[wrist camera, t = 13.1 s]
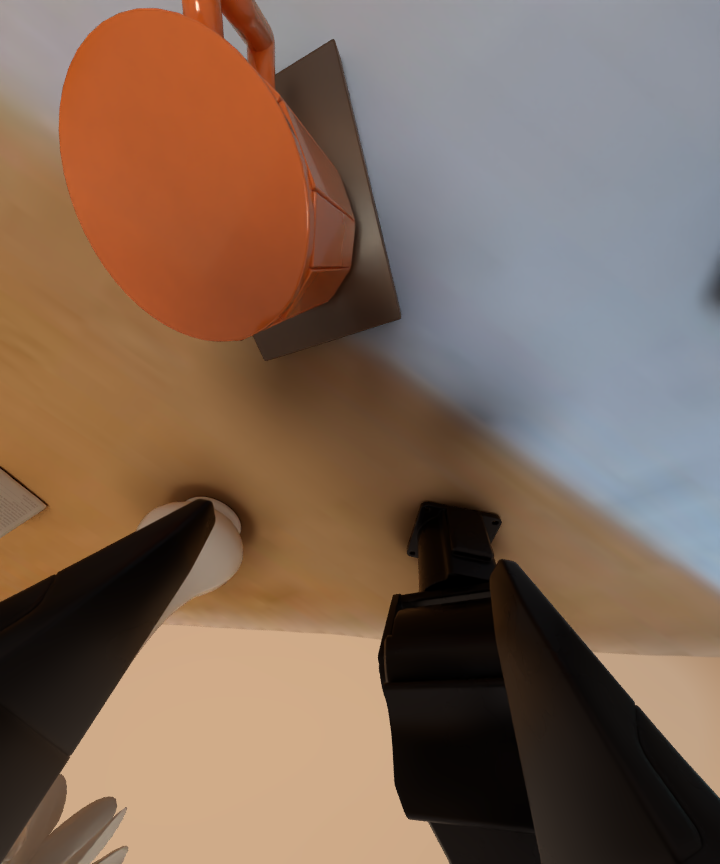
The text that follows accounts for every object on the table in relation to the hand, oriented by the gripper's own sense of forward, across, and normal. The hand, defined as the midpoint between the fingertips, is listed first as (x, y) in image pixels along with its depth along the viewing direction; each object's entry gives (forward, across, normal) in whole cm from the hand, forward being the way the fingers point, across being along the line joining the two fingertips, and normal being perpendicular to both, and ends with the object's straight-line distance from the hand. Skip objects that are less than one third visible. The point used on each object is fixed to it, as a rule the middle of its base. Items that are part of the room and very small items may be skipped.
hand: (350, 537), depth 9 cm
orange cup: (+10, +6, -9) cm, 15 cm away
